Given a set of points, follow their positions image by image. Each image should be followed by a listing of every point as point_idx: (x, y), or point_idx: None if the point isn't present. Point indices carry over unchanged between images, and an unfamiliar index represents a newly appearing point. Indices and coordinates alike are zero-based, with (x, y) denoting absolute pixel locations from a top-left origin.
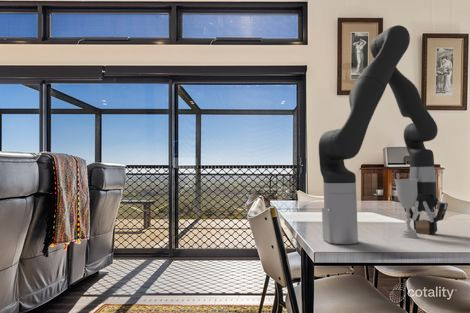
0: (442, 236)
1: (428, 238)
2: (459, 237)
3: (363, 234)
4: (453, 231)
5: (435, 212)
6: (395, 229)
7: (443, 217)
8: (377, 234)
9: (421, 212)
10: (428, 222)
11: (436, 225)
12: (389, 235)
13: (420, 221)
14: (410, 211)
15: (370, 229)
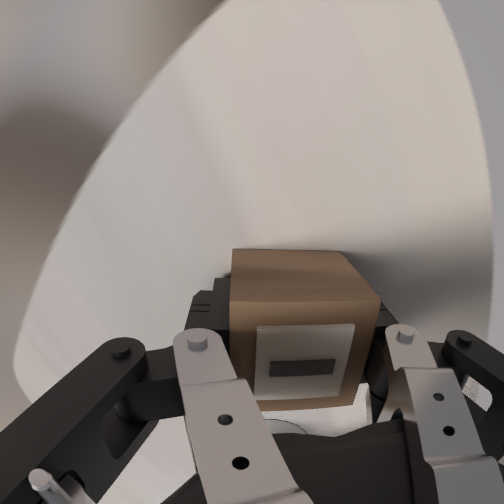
0: (403, 322)
1: (353, 421)
2: (473, 274)
3: (123, 488)
4: (394, 36)
5: (451, 378)
6: (61, 304)
7: (485, 350)
8: (145, 473)
9: (245, 390)
10: (352, 399)
11: (393, 324)
12: (189, 468)
13: (281, 410)
14: (89, 402)
15: (26, 393)
